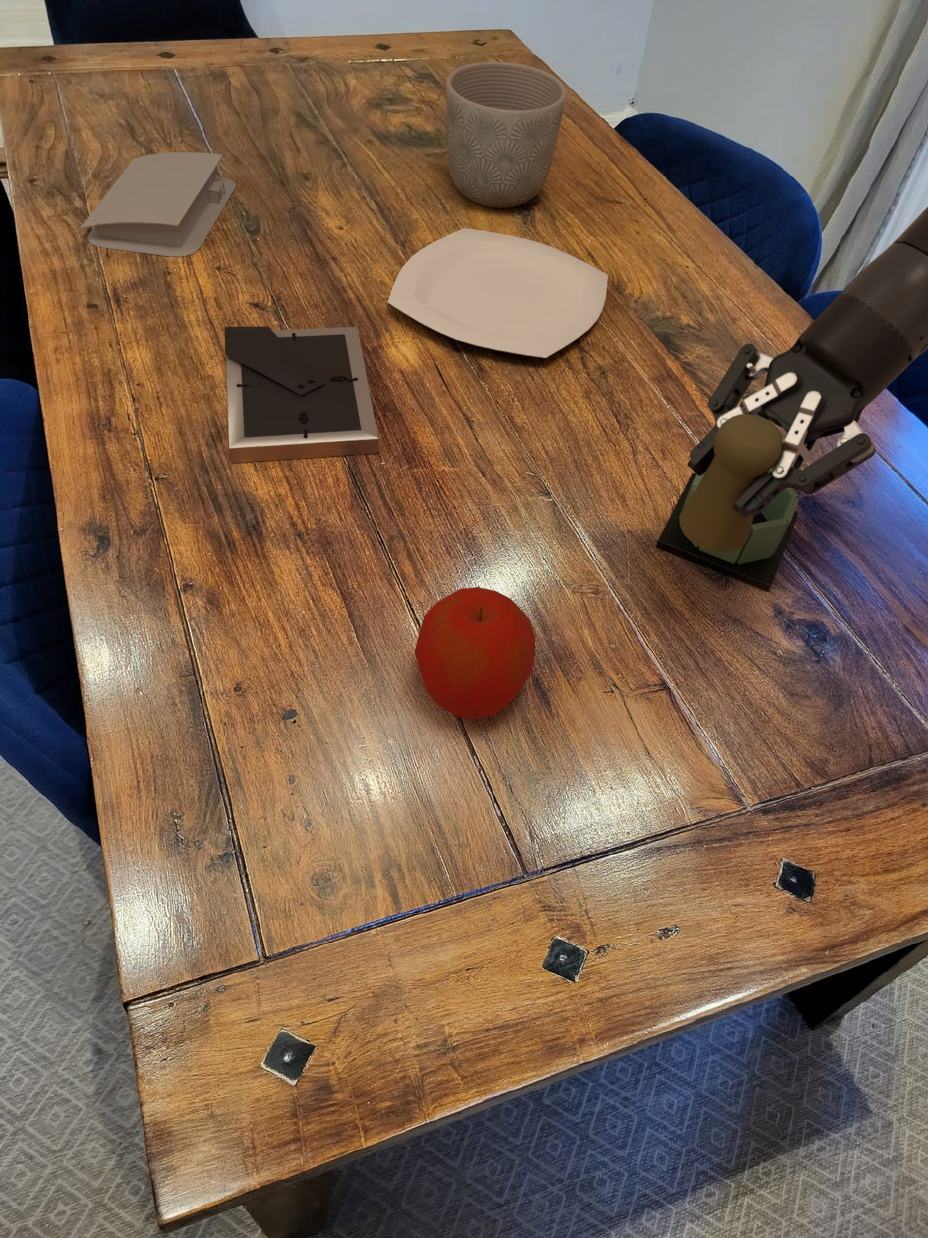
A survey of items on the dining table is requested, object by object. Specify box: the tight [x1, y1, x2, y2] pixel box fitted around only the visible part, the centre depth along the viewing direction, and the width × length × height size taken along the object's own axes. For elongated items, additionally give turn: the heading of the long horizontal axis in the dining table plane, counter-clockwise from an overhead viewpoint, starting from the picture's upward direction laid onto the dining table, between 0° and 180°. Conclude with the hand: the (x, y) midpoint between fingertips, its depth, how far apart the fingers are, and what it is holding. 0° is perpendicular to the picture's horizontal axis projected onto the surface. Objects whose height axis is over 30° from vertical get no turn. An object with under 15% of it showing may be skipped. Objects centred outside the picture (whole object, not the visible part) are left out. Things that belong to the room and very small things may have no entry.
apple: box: [413, 586, 536, 720], centre depth 73 cm, size 10×10×12 cm
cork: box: [680, 414, 784, 552], centre depth 72 cm, size 6×6×11 cm
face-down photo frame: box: [224, 325, 380, 464], centre depth 100 cm, size 16×3×21 cm
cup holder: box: [655, 466, 800, 593], centre depth 90 cm, size 12×12×6 cm
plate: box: [387, 227, 609, 360], centre depth 115 cm, size 27×27×2 cm
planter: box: [445, 61, 568, 209], centre depth 128 cm, size 17×17×15 cm
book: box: [79, 151, 236, 258], centre depth 122 cm, size 15×23×4 cm, turn 173°
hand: (716, 490), depth 71 cm, fingers closed on cork, 5 cm apart
